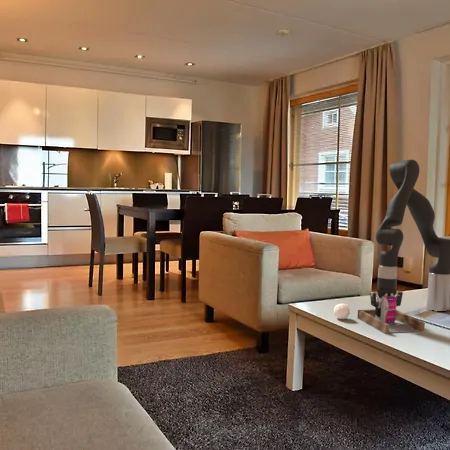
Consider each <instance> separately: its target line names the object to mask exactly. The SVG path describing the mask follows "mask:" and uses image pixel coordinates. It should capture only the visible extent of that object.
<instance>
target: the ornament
mask: <svg viewBox="0 0 450 450" xmlns="http://www.w3.org/2000/svg"><path fill="white" fill-rule="evenodd" d="M350 311H351V309H350V308H349V304H347V303H346V304H345V303H338V304H336V305H335V306H334V308H333V314H334V316H335V317H336V318H337V319H339V320H346V319H348V318H349V316H350V314H351V312H350Z"/></svg>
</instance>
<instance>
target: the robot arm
mask: <svg viewBox="0 0 450 450" xmlns="http://www.w3.org/2000/svg"><path fill="white" fill-rule="evenodd" d="M388 172H389V175H390V178H391V180H392V182H393V184H394V185H395V187H396V189H397V190H398V191H397V192H396V193H395V194H394V195H393V197H392V198H391V199H390V201H389V203H388V206H387V209H386V214H385V217H384V219H383V221H382V222H381V224H380V225H379V227H378V229H377V230H376V233H375V240H376V242H377V244H378V245H382V246H390V247H391V249H389V250H382V251H380V253H379V259H378V262H379V263H378V269H377V283H376V284H377V285H376V286H377V290H376V291H370V293H369V294H370V295H369V297H370V305H371V306H372V307H374V309H375V315H376V316H377V317H380V315H381V308H380V307H381V305H382V303H383V298H382V296H383V297H387V296H391V297H393V296H395V297H397V299H396V308H397V307H398V306H399V307H400V306H401V305H402V300H403V295H404V293H403V292H404V291H401V290H396V289H397V283H398V257H399V252H400V249H401V246H402V245H403V241H404V233H403V230H402V229H400V228H394V227H398V226H401V225H402V224H403V220H404V216H405V212H406V209H407V208H408V211H409V213H410V215H411V217H412V219H413V221H414V223H415V225H416V227H417V229H418V231H419V234H420V236H421V239H422V242H423V245H424V247H425V250H426V252H427V254H428V255H429V256H430V257H432V258H437V263H435V264H431V265H430V266H429V267H428V278H427V279H428V283H427V295H426V296H427V298H426V299H427V300H426V309H427V310H428V311H432V310H434V311H433V312H437V311H447V310H450V238H449V239H448V238H443V237H438V234H436V232H435V230H434V224H435V219H436V214H435V213H436V212H435V210H434V207H433V206H432V204H431V202H430V200H429V199H428V198H427V197H426V196H424V195H423V194H422V193H421V192H419V191H418V190H417V189H415V186H416V183H417V181H418V178H419V176H420V165H419V163H418V162H417V160H415V159H405V160H401V161H395V162H393V163H391V164H390V165H389V171H388ZM377 295H378V296H379V298H382V299H381V301H380V300H379V299H378V298H377ZM447 312H448V311H447ZM395 314H396V312H395Z"/></svg>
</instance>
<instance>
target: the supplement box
mask: <svg viewBox="0 0 450 450" xmlns="http://www.w3.org/2000/svg"><path fill="white" fill-rule="evenodd" d="M377 298H378V299H379V300H380V301H381V299H382V298H383V303H382V305H381V307H380V308H381V315H380V317H377V316H375V318H377V319H379V320H381V321H383V322H385V323H387V324H389V325H395V321H396V319H395V312H396V310H397V307H396V299H397V297H396V295H395V296H393V297H391V296H387V297H383V296H382V298H379V296H378V295H377V297H376V299H377Z"/></svg>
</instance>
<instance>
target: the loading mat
mask: <svg viewBox="0 0 450 450" xmlns="http://www.w3.org/2000/svg"><path fill="white" fill-rule="evenodd" d="M417 332H419V331H418V330H416V329H414V328H412V327H410V326H408V325H406V324H404V323H400V324H398V323H397V324H389V334H399V333H400V334H401V333H417Z"/></svg>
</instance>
